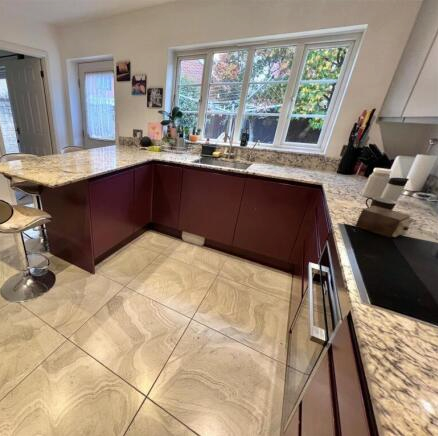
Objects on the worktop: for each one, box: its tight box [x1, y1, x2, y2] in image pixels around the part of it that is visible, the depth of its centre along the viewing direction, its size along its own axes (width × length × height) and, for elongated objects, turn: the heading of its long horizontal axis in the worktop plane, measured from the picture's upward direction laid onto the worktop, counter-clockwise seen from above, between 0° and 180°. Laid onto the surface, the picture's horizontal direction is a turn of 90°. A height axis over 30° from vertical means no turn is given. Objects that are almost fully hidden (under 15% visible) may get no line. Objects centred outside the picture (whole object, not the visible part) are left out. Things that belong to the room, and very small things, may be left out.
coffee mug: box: [365, 197, 398, 210], centre depth 116 cm, size 12×9×10 cm
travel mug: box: [381, 177, 410, 211], centre depth 118 cm, size 6×7×20 cm
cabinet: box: [354, 205, 411, 239], centre depth 104 cm, size 13×12×9 cm
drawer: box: [392, 217, 413, 238], centre depth 102 cm, size 13×10×7 cm
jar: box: [361, 167, 393, 199], centre depth 147 cm, size 10×10×18 cm
